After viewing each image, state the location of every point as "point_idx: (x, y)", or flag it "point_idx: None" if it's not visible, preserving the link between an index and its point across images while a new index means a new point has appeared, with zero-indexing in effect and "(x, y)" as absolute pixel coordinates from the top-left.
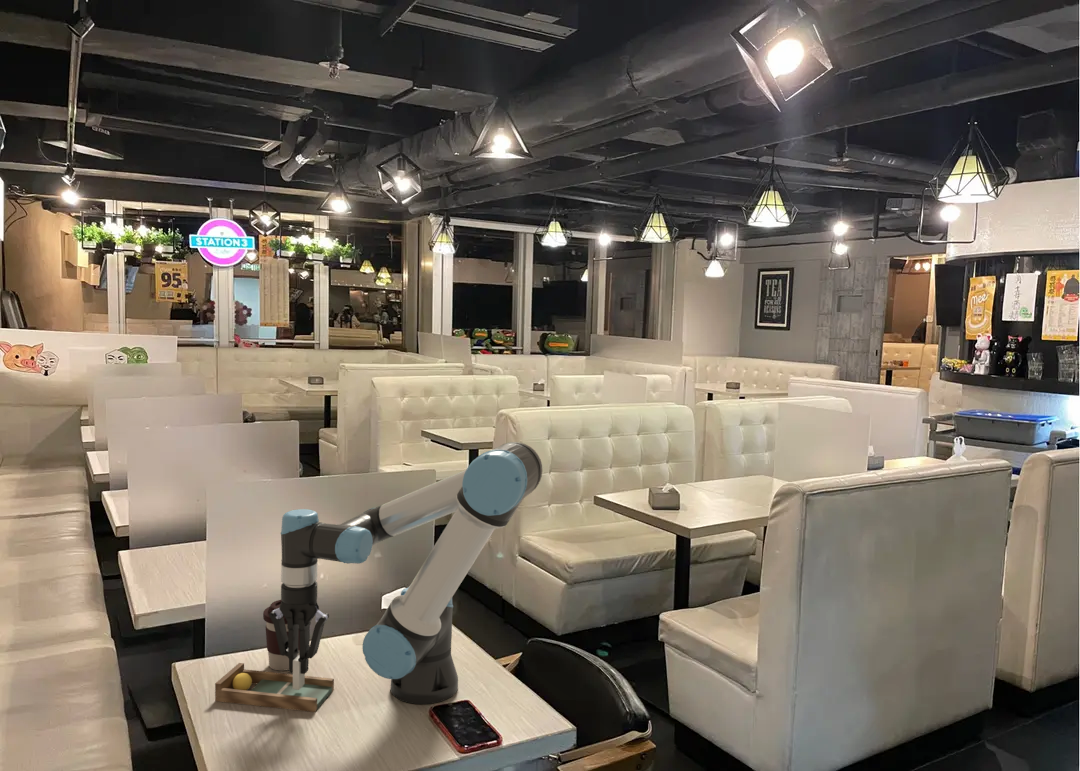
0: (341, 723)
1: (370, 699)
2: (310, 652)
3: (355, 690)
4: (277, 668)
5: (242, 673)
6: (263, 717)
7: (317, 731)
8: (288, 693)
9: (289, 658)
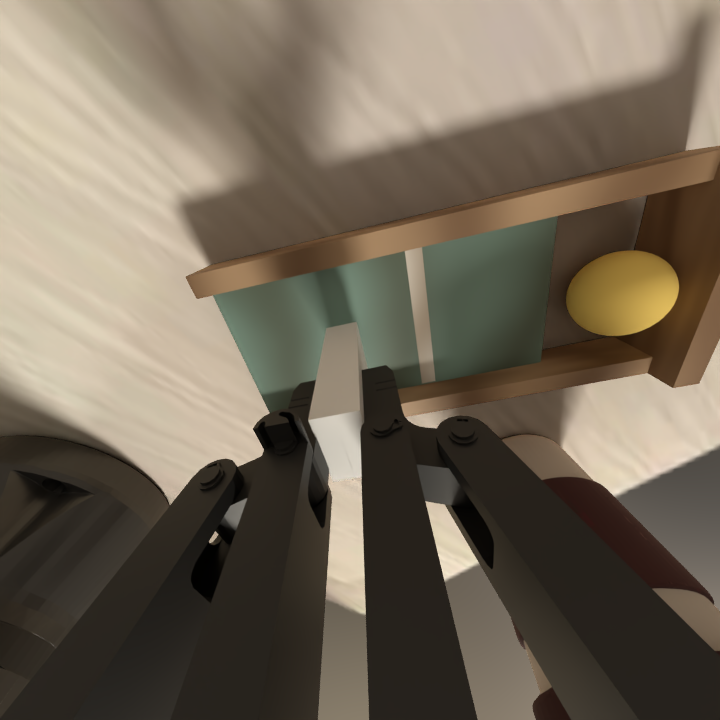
0: (44, 233)
1: (133, 411)
2: (194, 508)
3: (220, 433)
4: (522, 438)
5: (655, 311)
6: (379, 113)
7: (49, 111)
8: (381, 316)
9: (393, 416)
